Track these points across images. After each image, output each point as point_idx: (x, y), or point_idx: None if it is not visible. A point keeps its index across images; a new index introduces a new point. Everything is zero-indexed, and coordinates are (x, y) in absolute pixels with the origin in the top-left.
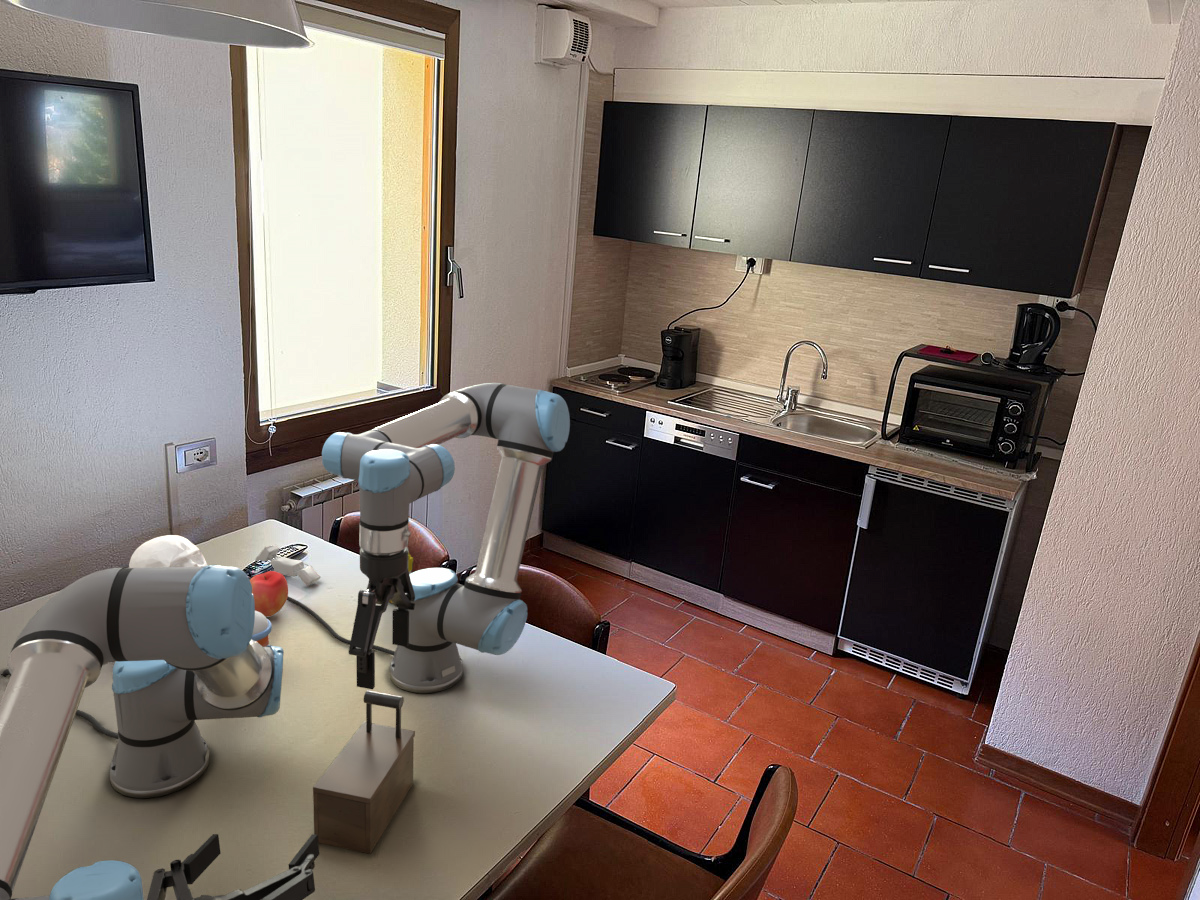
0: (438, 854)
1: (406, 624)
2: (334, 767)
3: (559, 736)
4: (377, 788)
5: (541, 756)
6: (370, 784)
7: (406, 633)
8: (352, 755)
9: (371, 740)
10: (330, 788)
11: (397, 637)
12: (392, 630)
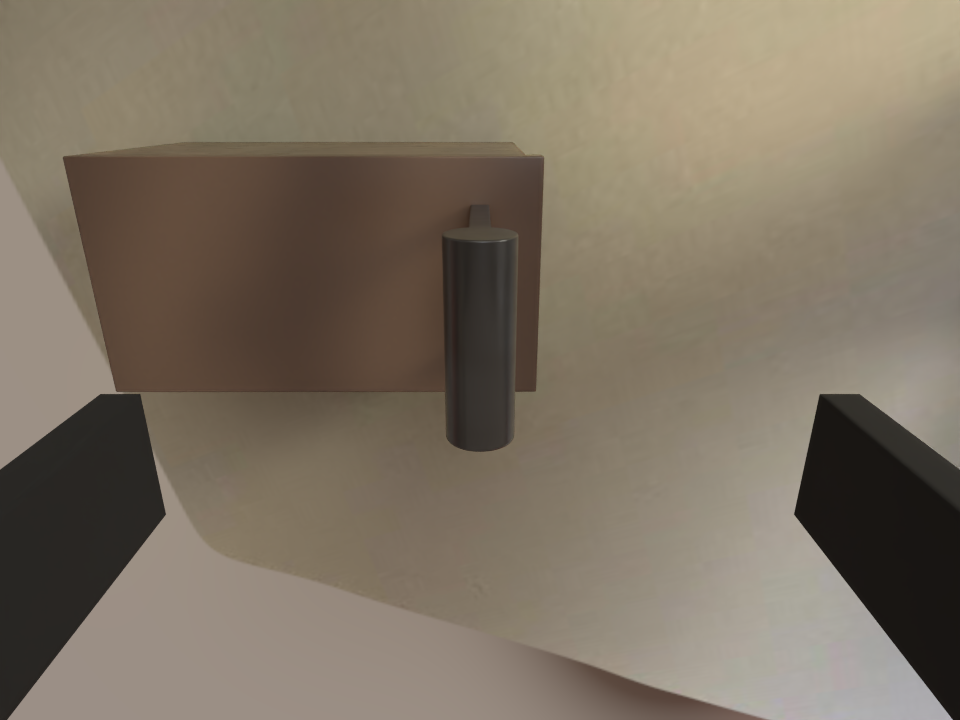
0: (281, 470)
1: (934, 686)
2: (205, 183)
3: (800, 612)
4: (177, 391)
5: (705, 591)
6: (181, 362)
7: (865, 600)
8: (304, 220)
9: (424, 251)
10: (92, 229)
11: (852, 479)
12: (908, 469)
